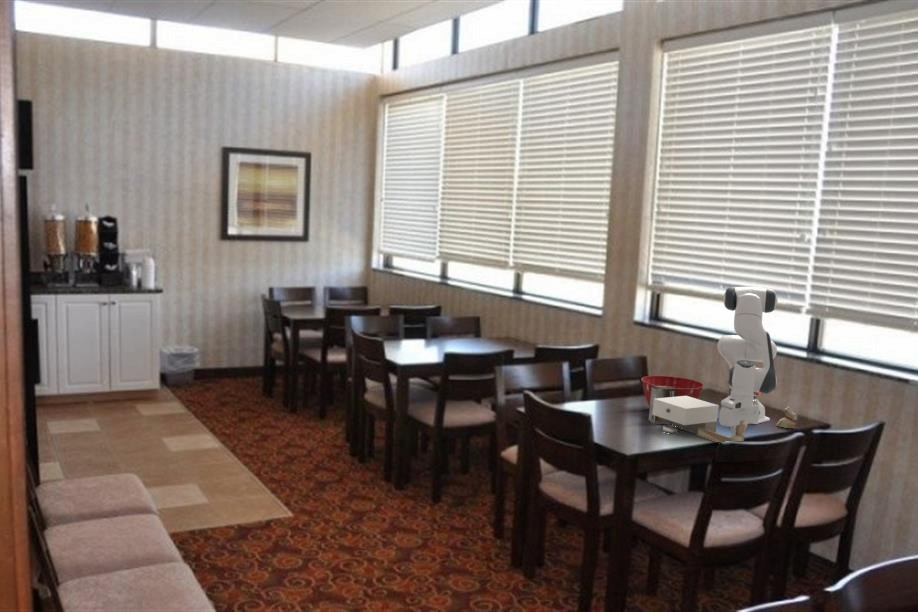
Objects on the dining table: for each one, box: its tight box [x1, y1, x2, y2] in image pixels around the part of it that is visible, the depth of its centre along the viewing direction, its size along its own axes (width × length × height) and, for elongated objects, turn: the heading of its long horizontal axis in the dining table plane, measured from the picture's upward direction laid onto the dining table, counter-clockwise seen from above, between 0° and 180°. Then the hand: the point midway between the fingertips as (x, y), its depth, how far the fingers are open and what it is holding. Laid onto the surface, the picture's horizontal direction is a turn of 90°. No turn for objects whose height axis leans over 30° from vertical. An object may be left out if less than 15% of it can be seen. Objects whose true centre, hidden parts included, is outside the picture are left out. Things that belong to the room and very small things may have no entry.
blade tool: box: [697, 420, 746, 443], centre depth 335 cm, size 3×22×12 cm, turn 32°
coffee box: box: [648, 386, 676, 425], centre depth 363 cm, size 9×6×16 cm
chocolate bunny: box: [775, 406, 798, 429], centre depth 370 cm, size 6×8×10 cm
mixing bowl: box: [640, 375, 704, 407], centre depth 382 cm, size 28×28×16 cm
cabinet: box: [652, 396, 720, 435], centre depth 350 cm, size 21×18×13 cm
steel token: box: [662, 424, 678, 435], centre depth 348 cm, size 6×6×2 cm
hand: (737, 435), depth 328 cm, fingers closed on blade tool, 3 cm apart
